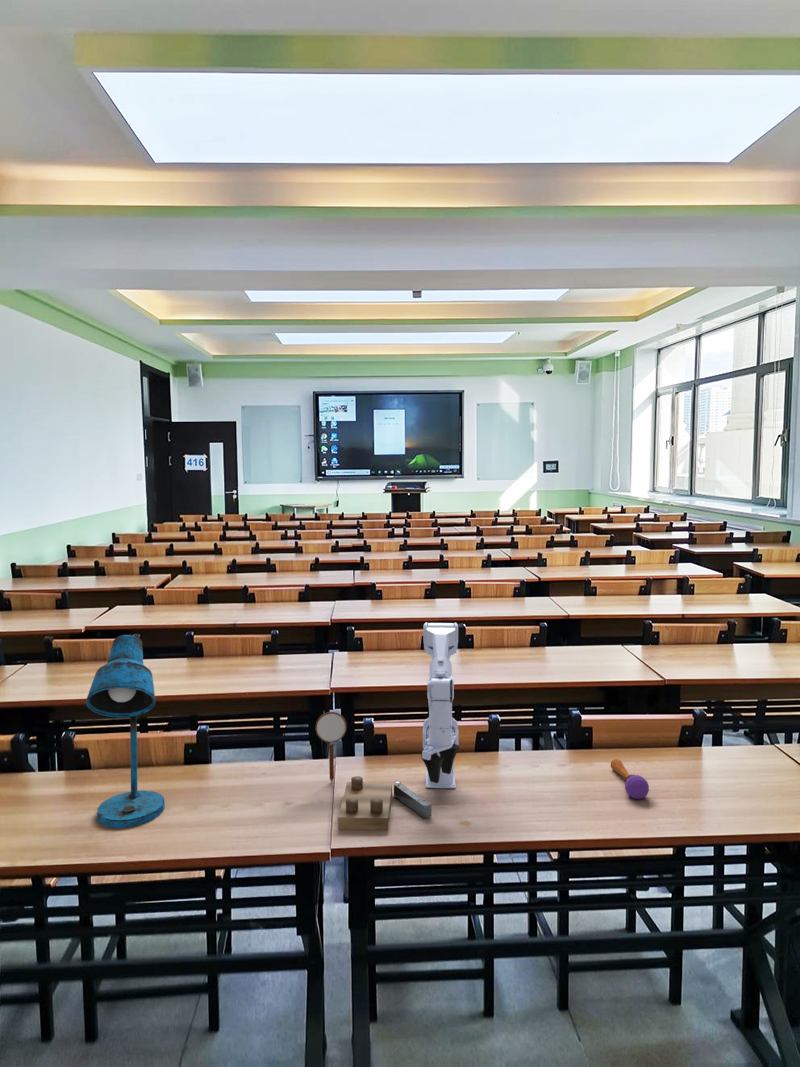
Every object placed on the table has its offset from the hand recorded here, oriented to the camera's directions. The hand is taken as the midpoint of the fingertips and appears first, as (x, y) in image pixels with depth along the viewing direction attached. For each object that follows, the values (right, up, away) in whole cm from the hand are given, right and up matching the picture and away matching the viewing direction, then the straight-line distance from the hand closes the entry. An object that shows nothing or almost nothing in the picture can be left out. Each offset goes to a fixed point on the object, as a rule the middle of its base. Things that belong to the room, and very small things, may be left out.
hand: (440, 777), depth 176 cm
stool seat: (-19, -9, 0) cm, 21 cm away
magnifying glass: (-29, -7, +16) cm, 34 cm away
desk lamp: (-78, -9, -2) cm, 78 cm away
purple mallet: (+52, -7, +14) cm, 54 cm away
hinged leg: (-7, -8, +2) cm, 11 cm away
